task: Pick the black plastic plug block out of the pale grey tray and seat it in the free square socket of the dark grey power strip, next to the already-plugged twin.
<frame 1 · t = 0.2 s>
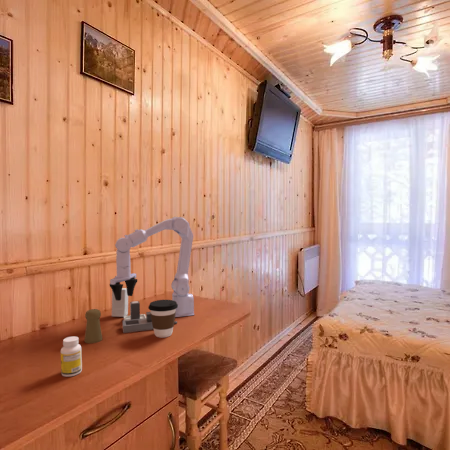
hand: (124, 297, 138), 10 cm above the table, tool pointing down, fingers open, 7 cm apart
supplement bottle: (71, 373, 93), on the table
skincare box: (119, 316, 145), on the table
coffee cup: (163, 335, 122), on the table
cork: (93, 340, 117), on the table
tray: (135, 320, 139), on the table
plug: (135, 319, 139), resting on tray
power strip: (140, 327, 130), on the table
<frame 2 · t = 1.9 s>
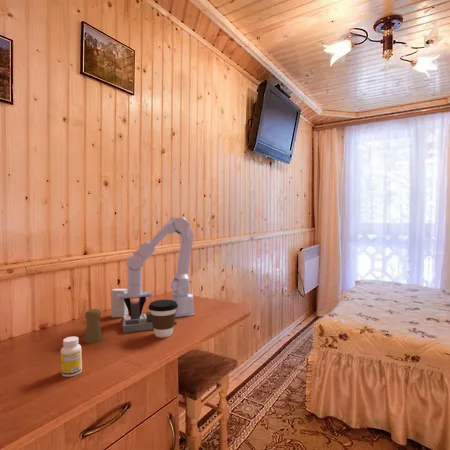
hand: (135, 315, 139), 2 cm above the table, tool pointing down, fingers closed on plug, 4 cm apart
plug: (135, 319, 139), resting on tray, touching gripper
everything else where it was.
when the fingers open (3 cm above the table, at t = 4.7 s): plug stays where it is, resting on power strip.
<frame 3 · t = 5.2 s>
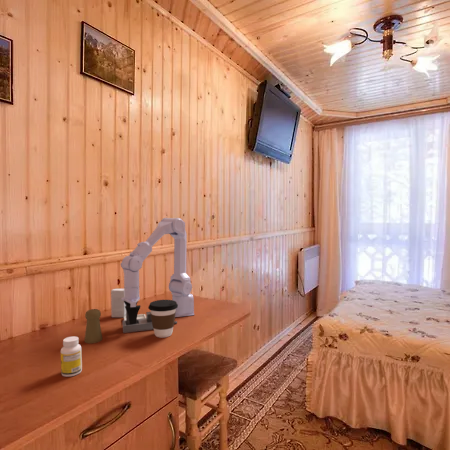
hand: (132, 320, 129), 3 cm above the table, tool pointing down, fingers open, 7 cm apart
plug: (131, 327, 129), resting on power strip
everything else where it was.
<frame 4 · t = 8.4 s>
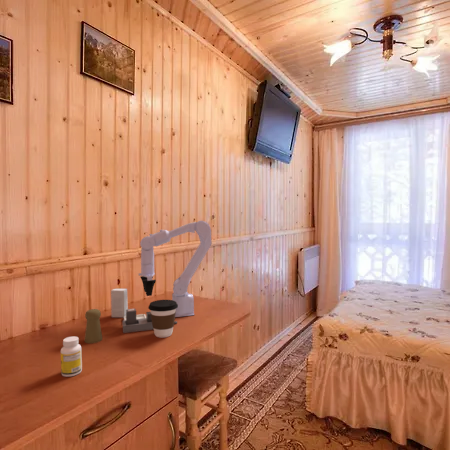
hand: (148, 293, 145), 10 cm above the table, tool pointing down, fingers open, 7 cm apart
nothing on the table moved.
at the end: plug 0.3 cm from the target spot on the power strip, point 0.4 cm above the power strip's base; plug tilted 0°; the gripper is holding nothing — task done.
